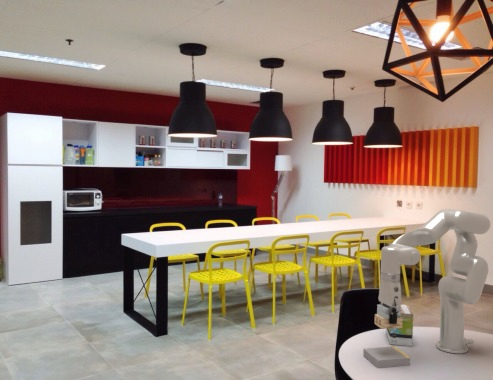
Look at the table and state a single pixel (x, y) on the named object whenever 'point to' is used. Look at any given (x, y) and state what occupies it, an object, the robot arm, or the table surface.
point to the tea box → (402, 329)
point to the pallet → (386, 323)
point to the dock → (386, 357)
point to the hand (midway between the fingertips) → (388, 320)
